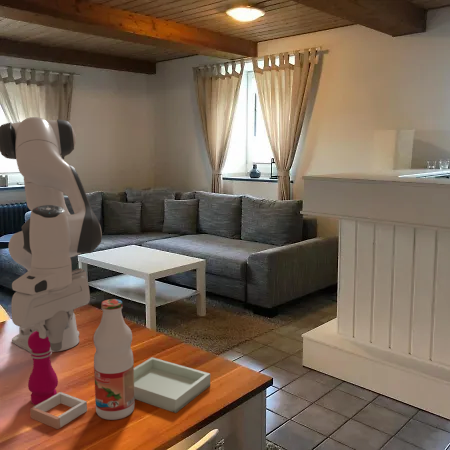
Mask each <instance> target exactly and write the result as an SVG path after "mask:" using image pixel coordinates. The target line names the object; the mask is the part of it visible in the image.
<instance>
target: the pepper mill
mask: <svg viewBox="0 0 450 450" xmlns="http://www.w3.org/2000/svg"><path fill="white" fill-rule="evenodd" d="M28 346H29V348H30V349H31V353H30V358H32V360H33V362H32V370H31V373H30V375H29V376H28V377H29V378H28V382H27V389H28V390H29V392H30V393H31V394H30V402H31V404H33V405H34V406H36V405H37V404H39V403H41V402H43V401H45V400H47V399H48V398H50V397H52V396H54V395H56V394H57V389H56V388H57V387H58V385H59V379H58V375H57V373H56V371H55V370H54V368H53V366H52V363H51V356H52V354H53V352H51V347H50V342H49V338H48V337H46V338H44V339H43V338H40V337H39V330H38V329H37V328H36V331H35V332H33V333H32V334H31V335H30V336H29V338H28Z"/></svg>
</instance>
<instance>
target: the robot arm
mask: <svg viewBox="0 0 450 450" xmlns="http://www.w3.org/2000/svg"><path fill="white" fill-rule="evenodd" d="M76 142H77V135H76V130H75V129H74V127H73V125H72V124H71V123H70V121H68V120H64V119H57V120H54V119H44V118H41V117H37V116H34V117H33V116H31V117H28V118H25V119H23V120H22V121H19V122H13V123H12V122H6V123H3V124H1V125H0V154H1V155H2V157H4V158H5V159H10V160H16V165H17V169H18V171H19V173H20V174H21V176H22V177H23V183H24V192H25V199H26V205H27V208H28V209H29V211H30V217H29V219H27V220H26V221H25V223H23V225H22V226H21V231H18V232H15V233H14V234H12V235H11V237H10V239H9V242H8V253H9V255H10V257H11V259H12V260H13V261H14V262H15V263H17V264H18V265H20V266H22V267H23V268H24V269H26V270H27V272H25V273H24V274H22V275H20V276H19V277H18V278H16V279H15V280H14V281H12V283H11V288H12V291H15V292H14V294H13V295H12V297H11V304H10V305H11V321H12V323H13V324H14V325H16V326H17V327H19V329H18V334H16V335H15V336H13V337H12V338H11V342H12V343H13V344H14V345H17V346H18V347H20V348H22V349H24V350H25V351H28V353H30V354H31V349H30V348H29V346H28V338H29V336H30V335H31V334H32V333H33V332H35V331H36V328H37V329H38V330H39V337H40V338H43V339H44V338H46V337H49V330H47V329H45V328H44V326H43V325H45V320H47V319H50V318H52V317H53V316H54V315H55V314H56V313H57V312H59V311H65V312H67V314H68V323H67V326H66V328H65V330H64V333H63V340H62V348H61V349H60V350H59V351H58V352H62V351H65V350H69V349H71V348H73V347H75V346H77V345H78V344H79V343H80V337H79V336H80V331H79V330H78V326H77V321H76V314H75V313H74V312H75V309H77V308H81V307H83V306H86V305H88V304H89V303H90V300H91V294H90V293H91V292H90V287H89V281H88V279H87V278H88V277H87V271H86V270H85V269H83V268H81V267H80V268H79V267H78V268H76V269H74V270H73V269H72V259H71V258H72V257H73V258H74V257H77V256H79V255H81V254H91V253H92V252H94V250H96V249H97V248H98V247H99V246H100V244H101V243H102V235H103V233H102V232H103V231H102V227H101V224H100V222H99V220H98V217H97V215H96V214H95V212H94V210H93V208H92V206H91V203H90V200H89V198H88V196H87V193H86V191H85V188H84V186H83V183H82V180H81V178H80V176H79V174H78V171H77V170H76V168H75V167H74V166H73V165H71V164H69V163H67V161H65V157H66V156H68V155H70V154H71V153H72V152H73V151H74V150H75V147H76ZM64 194H65V195H64ZM65 196H67V198H68V200H69V202H70V205H71V208H72V210H73V212H74V213H73V214H71V213H70V212H69V209H68V207H67V205H66V201H65ZM51 352H52V353H55V351H52V350H51Z"/></svg>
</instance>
